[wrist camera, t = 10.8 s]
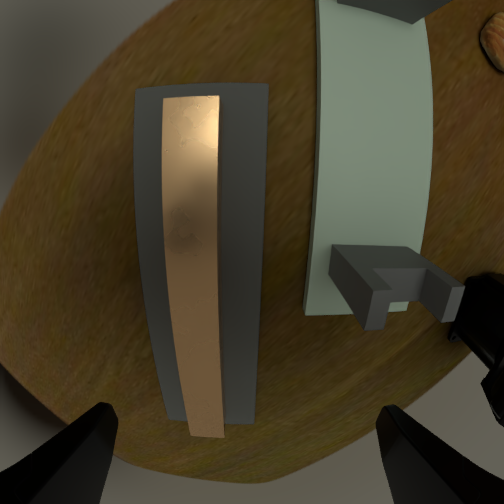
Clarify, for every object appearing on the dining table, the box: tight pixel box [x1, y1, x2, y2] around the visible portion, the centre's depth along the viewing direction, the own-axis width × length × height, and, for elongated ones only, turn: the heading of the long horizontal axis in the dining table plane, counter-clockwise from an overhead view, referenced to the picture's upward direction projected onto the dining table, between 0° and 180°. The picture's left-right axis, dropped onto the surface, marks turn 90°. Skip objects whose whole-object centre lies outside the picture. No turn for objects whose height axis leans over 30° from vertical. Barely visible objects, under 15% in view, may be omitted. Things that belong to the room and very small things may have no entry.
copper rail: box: [162, 96, 226, 438], centre depth 18 cm, size 24×3×3 cm, turn 178°
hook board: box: [303, 0, 465, 331], centre depth 12 cm, size 26×8×8 cm, turn 178°
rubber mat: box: [133, 83, 268, 424], centre depth 19 cm, size 27×8×1 cm, turn 178°
